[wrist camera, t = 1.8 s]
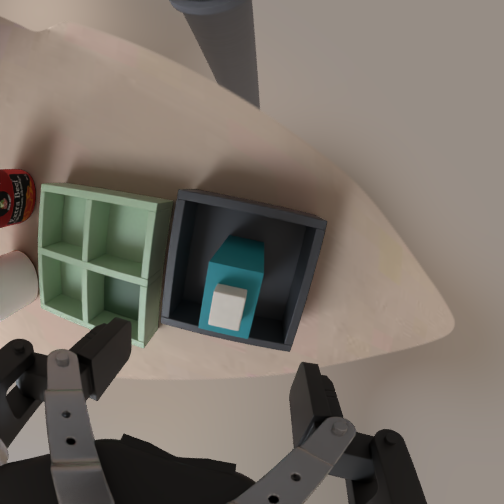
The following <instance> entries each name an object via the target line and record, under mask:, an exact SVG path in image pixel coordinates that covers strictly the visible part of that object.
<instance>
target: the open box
mask: <svg viewBox="0 0 504 504" xmlns="http://www.w3.org/2000/svg"><path fill="white" fill-rule="evenodd" d="M326 225H327V221H326V220H324V219H322V218H320V217H318V216H316V215H314V214H310V213H306V212H301V211H297V210H293V209H289V208H284V207H280V206H275V205H271V204H266V203H262V202H257V201H253V200H248V199H243V198H238V197H233V196H228V195H223V194H218V193H213V192H208V191H203V190H197V189H179V190H178V195H177V201H176V206H175V212H174V218H173V224H172V231H171V237H170V244H169V251H168V259H167V267H166V275H165V283H164V293H163V303H162V313H161V323H163V324H166V325H170V326H173V327H177V328H181V329H185V330H189V331H192V332H196V333H200V334H205V335H209V336H213V337H217V338H222V339H226V340H231V341H235V342H240V343H245V344H250V345H255V346H260V347H265V348H271V349H276V350H282V351H288V352H290V350H291V347H292V344H293V341H294V338H295V335H296V332H297V329H298V325H299V322H300V319H301V316H302V313H303V309H304V306H305V303H306V299H307V296H308V293H309V289H310V286H311V282H312V279H313V275H314V271H315V268H316V264H317V260H318V257H319V253H320V249H321V245H322V242H323V238H324V234H325V229H326ZM229 235H232V236H237V237H241V238H246V239H251V240H255V241H260V242H264V276H263V280H262V284H261V289H260V293H259V297H258V301H257V305H256V309H255V314H254V318H253V322H252V326H251V330H250V334H249V338H248V339H245V338H240V337H235V336H231V335H226V334H222V333H217V332H213V331H209V330H205V329H201V328H198V326H199V320H200V313H201V307H202V300H203V294H204V288H205V282H206V276H207V271H208V265H209V261H210V260H211V258H212V257H213V256H214V254H215V253H216V252H217V251H218V249H219V248H220V247H221V245H222V244H223V243H224V241H225V240H226V239H227V237H228V236H229Z"/></svg>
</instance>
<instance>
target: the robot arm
mask: <svg viewBox="0 0 504 504" xmlns="http://www.w3.org/2000/svg"><path fill="white" fill-rule="evenodd" d="M189 1H211V0H189ZM131 334H132V324H131V322H130V321H128V320H125V319H122V318H119V317H115V318H114V319H112V320H111V321H110V322H109V323H108V324H106V323H103V324H100V325H98V326H95V327H94V328H93V329H92V330H91V331H90V332H89V333H87V334H86V335H85V337H83V338H82V339H81V340H79V341H78V342H77V343H76V344H75V345H74V346H73V347H72V348H71V349H70V350H65V349H59V350H55V351H53V352H51V353H50V354H49V355H48V356H47V355H43V354H39V353H35V352H34V350H33V346H32V344H31V343H30V342H29V341H27V340H24V339H15V340H12V341H10V342H9V343H7V344H6V345H5V346H4V347H3V348H1V349H0V504H303V503H304V502H305V501H306V500H307V499H308V498H309V497H310V495H311V494H312V493H313V492H314V491H315V490H316V488H317V487H318V486H319V485H320V484H321V482H322V481H323V480H324V478H325V477H326V476H327V475H332V476H336V477H340V478H345V480H346V487H347V495H348V502H349V504H427V502H426V499H425V496H424V494H423V491H422V487H421V484H420V482H419V479H418V476H417V473H416V470H415V468H414V465H413V462H412V460H411V457H410V454H409V452H408V449H407V447H406V444H405V441H404V439H403V438H402V436H401V435H400V434H399V433H397V432H395V431H393V430H389V429H383V430H380V431H378V432H377V433H376V434H375V436H370V435H366V434H362V433H358V432H356V429H355V427H354V425H353V424H352V423H351V422H350V421H348V420H347V419H344V418H343V415H342V411H341V408H340V405H339V402H338V398H337V395H336V392H335V389H334V385H333V383H332V381H331V380H330V379H329V378H328V377H327V376H325V375H321V373H320V370H319V366H318V364H313V363H306V362H301V364H300V366H299V368H298V371H297V373H296V376H295V379H294V381H293V384H292V386H291V390H290V396H289V401H290V411H291V421H292V433H293V444H294V449H293V450H292V451H291V452H290V453H289V454H288V455H287V456H286V457H285V458H284V459H282V460H281V461H280V462H279V463H278V464H277V465H276V466H275V467H274V468H273V469H271V470H270V471H269V472H268V473H267V474H266V475H265V476H263V477H262V478H261V479H260V480H259V481H257V482H255V481H253V480H252V479H250V478H249V477H247V476H244V475H243V474H241V473H238V472H236V471H235V470H236V464H233V463H227V462H222V461H216V460H211V459H202V458H182V457H176V456H173V455H171V454H169V453H167V452H166V451H163V450H162V449H160V448H158V447H156V446H154V445H153V444H151V443H149V442H146V441H143V440H140V439H137V438H134V437H132V436H129V435H126V434H123V436H122V438H121V440H116V439H100V440H95V439H94V435H93V431H92V427H91V424H90V419H89V415H88V411H87V405H86V400H87V399H88V398H91V399H94V400H96V401H98V400H99V398H100V397H101V395H102V394H103V393H104V391H105V390H106V389H107V387H108V386H109V385H110V383H111V382H112V380H113V379H114V378H115V377H116V375H117V374H118V373H119V371H120V370H121V369H122V367H123V366H124V365H125V363H126V362H127V361H128V359H129V357H130V354H131ZM15 381H16V384H17V385H16V386H15V387H14V388H13V389H12V390H11V391H10V392H9V394H7V396H6V392H7V390H8V388H9V387H10V386H11V385H12V384H13V383H14V382H15ZM43 401H44V402H45V414H46V425H47V435H48V443H49V450H50V454H46V455H43V456H39V457H34V458H30V459H25V460H21V461H16V462H11V463H7V460H8V455H9V454H8V450H7V448H8V447H9V445H10V444H11V443H12V441H13V440H14V438H15V437H16V436H17V434H18V433H19V432H20V430H21V429H22V428H23V426H24V425H25V424H26V422H27V421H28V420H29V418H30V417H31V416H32V415H33V413H34V412H35V410H36V409H37V408H38V407H39V406H40V404H41V403H42V402H43Z"/></svg>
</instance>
